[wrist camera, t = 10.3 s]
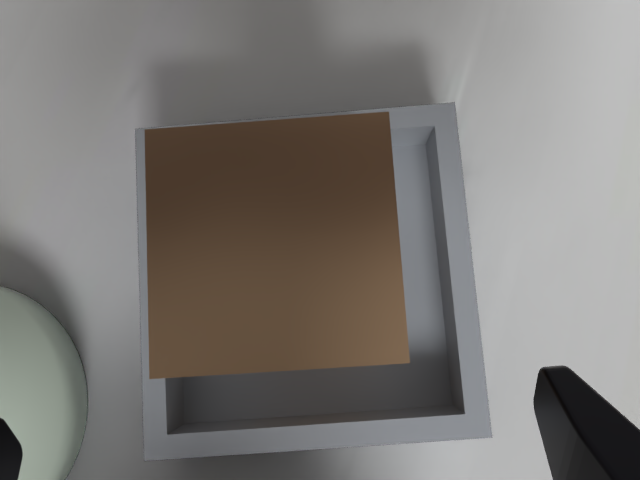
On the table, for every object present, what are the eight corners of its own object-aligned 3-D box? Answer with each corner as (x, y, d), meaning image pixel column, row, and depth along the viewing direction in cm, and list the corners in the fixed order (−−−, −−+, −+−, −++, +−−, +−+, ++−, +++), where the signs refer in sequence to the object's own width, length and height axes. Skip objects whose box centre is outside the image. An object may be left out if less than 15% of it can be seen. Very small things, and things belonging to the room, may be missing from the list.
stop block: (376, 344, 22) (409, 363, 11) (244, 352, 22) (149, 379, 11) (366, 214, 23) (388, 111, 12) (238, 222, 23) (144, 129, 12)
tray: (472, 422, 22) (492, 437, 19) (170, 443, 22) (144, 461, 20) (440, 129, 24) (454, 102, 21) (160, 152, 24) (134, 128, 21)
